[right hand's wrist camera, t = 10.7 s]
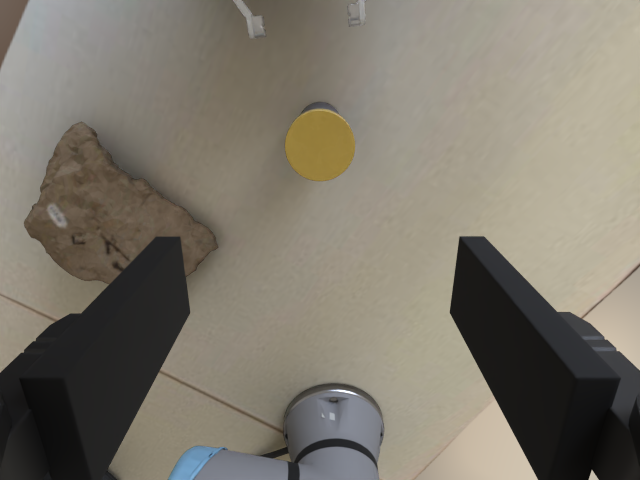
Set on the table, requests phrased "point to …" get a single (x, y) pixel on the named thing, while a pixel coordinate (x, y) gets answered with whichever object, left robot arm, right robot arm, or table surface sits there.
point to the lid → (319, 145)
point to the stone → (105, 213)
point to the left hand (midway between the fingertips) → (307, 31)
